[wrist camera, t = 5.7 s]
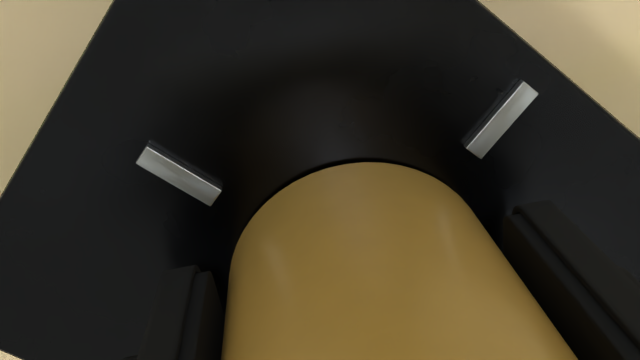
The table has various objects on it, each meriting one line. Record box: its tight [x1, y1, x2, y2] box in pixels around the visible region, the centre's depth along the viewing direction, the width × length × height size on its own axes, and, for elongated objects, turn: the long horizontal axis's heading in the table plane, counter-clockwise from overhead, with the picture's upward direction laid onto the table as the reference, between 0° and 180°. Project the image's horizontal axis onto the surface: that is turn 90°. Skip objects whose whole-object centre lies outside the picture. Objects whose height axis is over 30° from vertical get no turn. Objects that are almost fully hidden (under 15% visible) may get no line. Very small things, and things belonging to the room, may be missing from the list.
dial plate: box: [0, 0, 640, 360], centre depth 12 cm, size 12×10×3 cm
